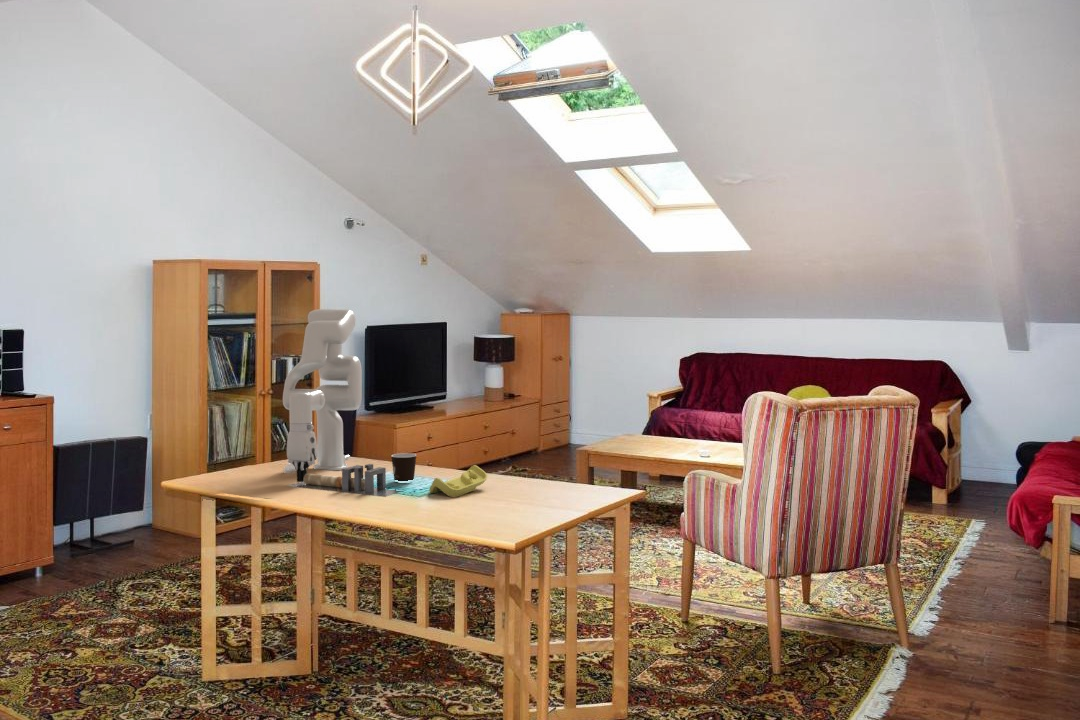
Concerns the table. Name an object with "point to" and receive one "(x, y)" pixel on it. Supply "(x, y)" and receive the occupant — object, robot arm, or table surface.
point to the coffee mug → (403, 466)
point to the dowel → (328, 481)
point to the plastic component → (460, 482)
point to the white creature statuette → (289, 468)
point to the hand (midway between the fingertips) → (301, 481)
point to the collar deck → (357, 482)
